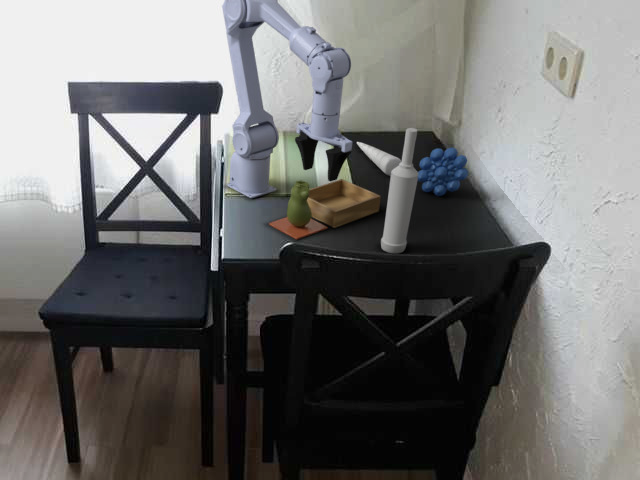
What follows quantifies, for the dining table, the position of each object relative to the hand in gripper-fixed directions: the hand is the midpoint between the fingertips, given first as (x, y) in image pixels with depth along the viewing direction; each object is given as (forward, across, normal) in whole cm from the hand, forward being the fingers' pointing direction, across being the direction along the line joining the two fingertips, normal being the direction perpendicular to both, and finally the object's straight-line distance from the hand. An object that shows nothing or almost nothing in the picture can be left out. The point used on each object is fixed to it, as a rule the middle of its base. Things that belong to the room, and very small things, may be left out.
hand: (320, 174), depth 161 cm
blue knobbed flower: (+11, -7, -33) cm, 36 cm away
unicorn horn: (+11, +16, -36) cm, 41 cm away
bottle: (+11, -20, -3) cm, 23 cm away
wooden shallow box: (+10, 0, -7) cm, 13 cm away
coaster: (+10, -1, +6) cm, 12 cm away
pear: (+10, -1, +6) cm, 12 cm away
